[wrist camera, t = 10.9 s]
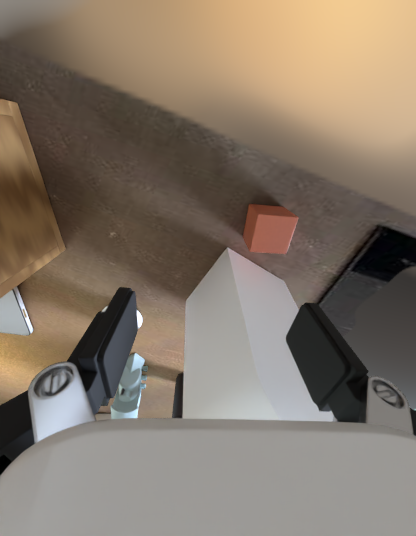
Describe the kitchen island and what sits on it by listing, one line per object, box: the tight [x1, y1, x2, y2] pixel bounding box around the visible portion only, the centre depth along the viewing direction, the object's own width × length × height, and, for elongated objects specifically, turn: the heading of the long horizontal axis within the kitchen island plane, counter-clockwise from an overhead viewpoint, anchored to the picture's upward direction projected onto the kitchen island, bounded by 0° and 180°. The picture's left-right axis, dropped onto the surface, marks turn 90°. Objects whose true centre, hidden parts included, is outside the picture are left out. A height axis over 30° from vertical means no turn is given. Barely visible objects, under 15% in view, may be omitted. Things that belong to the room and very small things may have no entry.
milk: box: [182, 247, 334, 422], centre depth 21 cm, size 12×12×26 cm
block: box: [243, 204, 298, 254], centre depth 24 cm, size 5×5×5 cm
